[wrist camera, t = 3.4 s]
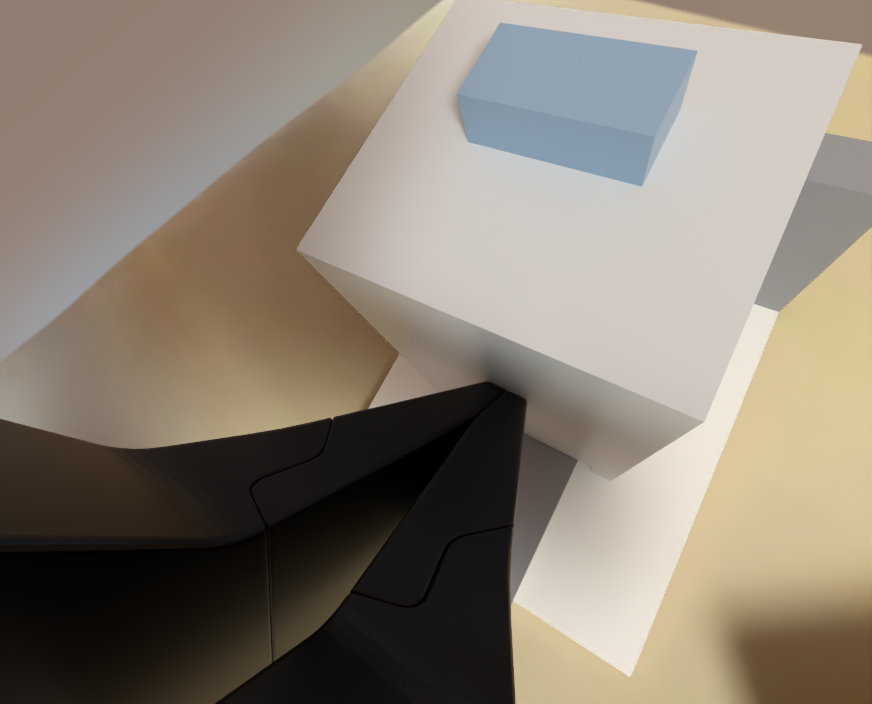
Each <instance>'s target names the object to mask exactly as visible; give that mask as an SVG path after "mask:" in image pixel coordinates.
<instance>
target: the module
mask: <svg viewBox="0 0 872 704" xmlns="http://www.w3.org/2000/svg"><path fill="white" fill-rule="evenodd" d="M861 47H862V44H855V43H847V42H838V41H830V40H822V39H813V38H806V37H798V36H789V35H781V34H773V33H765V32H757V31H749V30H741V29H732V28H724V27H716V26H708V25H700V24H692V23H683V22H675V21H667V20H659V19H651V18H643V17H635V16H626V15H618V14H610V13H602V12H594V11H586V10H577V9H569V8H561V7H553V6H545V5H537V4H529V3H520V2H512V1H504V0H456V1H455V2H454V4H453V5H452V7H451V9H450V10H449V12H448V13H447V15H446V16H445V18H444V19H443V21H442V23H441V24H440V26H439V27H438V29H437V30H436V32H435V33H434V35H433V37H432V38H431V40H430V41H429V43H428V44H427V46H426V47H425V49H424V51H423V52H422V54H421V55H420V57H419V58H418V60H417V61H416V63H415V65H414V66H413V68H412V69H411V71H410V72H409V74H408V75H407V77H406V79H405V80H404V82H403V83H402V85H401V86H400V88H399V89H398V91H397V93H396V94H395V96H394V97H393V99H392V100H391V102H390V103H389V105H388V107H387V108H386V110H385V111H384V113H383V114H382V116H381V117H380V119H379V121H378V122H377V124H376V125H375V127H374V128H373V130H372V131H371V133H370V135H369V136H368V138H367V139H366V141H365V142H364V144H363V145H362V147H361V149H360V150H359V152H358V153H357V155H356V156H355V158H354V159H353V161H352V163H351V164H350V166H349V167H348V169H347V170H346V172H345V173H344V175H343V177H342V178H341V180H340V181H339V183H338V184H337V186H336V187H335V189H334V191H333V192H332V194H331V195H330V197H329V198H328V200H327V201H326V203H325V205H324V206H323V208H322V209H321V211H320V212H319V214H318V215H317V217H316V219H315V220H314V222H313V223H312V225H311V226H310V228H309V229H308V231H307V233H306V234H305V236H304V237H303V239H302V240H301V242H300V243H299V245H298V247H297V248H296V250H297V251H298V252H299V253H300V254H301V255H302V256H303V257H304V258H305V259H306V260H307V261H308V262H309V263H310V264H311V265H312V266H313V267H314V268H315V269H316V270H317V271H318V272H319V273H320V274H321V275H322V276H323V277H324V278H325V279H326V280H327V281H328V282H329V283H330V284H331V285H332V286H333V287H334V288H335V289H336V290H337V291H338V292H339V293H340V294H341V295H342V296H343V297H344V298H345V299H346V300H347V301H348V302H349V303H350V304H351V305H352V306H353V307H354V308H355V309H356V310H357V311H358V312H359V313H360V314H361V315H362V316H363V317H364V318H365V319H366V320H367V321H368V322H369V323H370V324H371V325H372V326H373V327H374V328H375V329H376V330H377V331H378V332H379V333H380V334H381V335H382V336H383V337H384V338H385V339H386V340H387V341H388V342H389V343H390V344H391V345H392V346H393V347H394V348H395V349H396V350H397V351H398V352H399V353H400V354H401V355H402V356H403V357H404V358H405V359H406V360H407V361H408V362H409V363H410V364H411V365H412V366H413V367H414V368H415V369H416V370H417V371H418V372H419V373H420V374H421V375H422V376H423V377H424V378H425V379H426V380H427V381H428V382H429V383H430V384H431V385H432V386H433V387H434V388H435V389H436V390H437V391H438V392H442V391H447V390H451V389H455V388H459V387H464V386H468V385H472V384H476V383H481V382H485V381H489V382H491V383H493V384H496V385H498V386H500V387H502V388H504V389H505V390H506V391H510V392H512V393H514V394H516V395H519V396H521V397H523V398H525V399H526V400H527V409H526V419H525V429H524V434H526V435H528V436H530V437H533V438H535V439H537V440H539V441H541V442H543V443H545V444H547V445H549V446H551V447H553V448H555V449H557V450H559V451H561V452H563V453H565V454H567V455H569V456H571V457H573V458H575V459H577V460H579V461H581V462H583V463H585V464H587V465H589V466H591V469H590V471H591V472H593V473H595V474H597V475H599V476H601V477H603V478H605V479H607V480H609V481H612V480H613V479H615V478H617V477H618V476H620V475H621V474H623V473H624V472H626V471H628V470H629V469H631V468H632V467H634V466H636V465H637V464H639V463H640V462H642V461H643V460H645V459H647V458H648V457H650V456H651V455H653V454H655V453H656V452H658V451H659V450H661V449H662V448H664V447H666V446H667V445H669V444H670V443H672V442H673V441H675V440H677V439H678V438H680V437H681V436H683V435H685V434H686V433H688V432H689V431H691V430H692V429H694V428H696V427H697V426H699V425H700V424H702V423H703V422H705V419H706V417H707V414H708V412H709V410H710V407H711V405H712V402H713V400H714V398H715V395H716V393H717V391H718V388H719V386H720V383H721V381H722V379H723V376H724V374H725V371H726V369H727V367H728V364H729V362H730V359H731V357H732V355H733V352H734V350H735V348H736V345H737V343H738V340H739V338H740V336H741V333H742V331H743V328H744V326H745V324H746V321H747V319H748V316H749V314H750V312H751V309H752V307H753V305H754V302H755V300H756V297H757V295H758V293H759V290H760V288H761V285H762V283H763V281H764V278H765V276H766V274H767V271H768V269H769V266H770V264H771V262H772V259H773V257H774V254H775V252H776V250H777V247H778V245H779V242H780V240H781V238H782V235H783V233H784V231H785V228H786V226H787V223H788V221H789V219H790V216H791V214H792V211H793V209H794V207H795V204H796V202H797V199H798V197H799V195H800V192H801V190H802V188H803V185H804V183H805V180H806V178H807V176H808V173H809V171H810V168H811V166H812V164H813V161H814V159H815V156H816V154H817V152H818V149H819V147H820V145H821V142H822V140H823V137H824V135H825V133H826V130H827V128H828V125H829V123H830V121H831V118H832V116H833V113H834V111H835V109H836V106H837V104H838V102H839V99H840V97H841V94H842V92H843V90H844V87H845V85H846V82H847V80H848V78H849V75H850V73H851V70H852V68H853V66H854V63H855V61H856V59H857V56H858V54H859V51H860V49H861Z"/></svg>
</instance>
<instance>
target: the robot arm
mask: <svg viewBox="0 0 872 704" xmlns="http://www.w3.org/2000/svg"><path fill="white" fill-rule="evenodd" d="M526 409H527V400H526V399H525V398H523V397H521V396H519V395H516V394H514V393H512V392H510V391H506V390H505V389H504V388H502V387H500V386H498V385H496V384H493V383H491V382H489V381H485V382H481V383H476V384H472V385H468V386H464V387H459V388H455V389H451V390H447V391H442V392H438V393H434V394H430V395H425V396H421V397H417V398H413V399H408V400H404V401H400V402H396V403H391V404H387V405H383V406H379V407H374V408H370V409H366V410H362V411H358V412H353V413H349V414H345V415H341V416H336V417H334V418H333V421H332V419H331V418H327V419H323V420H319V421H314V422H310V423H305V424H301V425H296V426H291V427H286V428H282V429H276V430H270V431H264V432H258V433H253V434H247V435H240V436H233V437H227V438H220V439H213V440H207V441H200V442H193V443H187V444H180V445H173V446H167V447H158V448H148V449H127V448H116V447H109V446H103V445H99V444H94V443H91V442H87V441H83V440H79V439H75V438H71V437H68V436H64V435H60V434H56V433H52V432H48V431H45V430H41V429H37V428H33V427H29V426H25V425H22V424H18V423H14V422H10V421H6V420H2V419H0V704H515V686H514V667H513V648H512V629H511V588H510V579H511V562H512V547H513V538H514V526H515V516H516V506H517V497H518V487H519V477H520V467H521V458H522V448H523V438H524V429H525V419H526Z"/></svg>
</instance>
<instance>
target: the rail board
mask: <svg viewBox="0 0 872 704" xmlns="http://www.w3.org/2000/svg"><path fill="white" fill-rule="evenodd" d="M871 227H872V142H870V141H865V140H859V139H854V138H849V137H843V136H838V135H833V134H827V133H825V135H824V137H823V140H822V142H821V145H820V147H819V149H818V152H817V154H816V156H815V159H814V161H813V164H812V166H811V168H810V171H809V173H808V176H807V178H806V180H805V183H804V185H803V188H802V190H801V192H800V195H799V197H798V199H797V202H796V204H795V207H794V209H793V211H792V214H791V216H790V219H789V221H788V223H787V226H786V228H785V231H784V233H783V235H782V238H781V240H780V242H779V245H778V247H777V250H776V252H775V254H774V257H773V259H772V262H771V264H770V266H769V269H768V271H767V274H766V276H765V278H764V281H763V283H762V285H761V288H760V290H759V293H758V295H757V297H756V300H755V302H754V305H753V307H752V309H751V312H750V314H749V316H748V319H747V321H746V324H745V326H744V328H743V331H742V333H741V336H740V338H739V340H738V343H737V345H736V348H735V350H734V352H733V355H732V357H731V359H730V362H729V364H728V367H727V369H726V371H725V374H724V376H723V379H722V381H721V383H720V386H719V388H718V391H717V393H716V395H715V398H714V400H713V402H712V405H711V407H710V410H709V412H708V414H707V417H706V419H705V422H703V423H702V424H700V425H699V426H697V427H696V428H694V429H692V430H691V431H689V432H688V433H686V434H685V435H683V436H681V437H680V438H678V439H677V440H675V441H673V442H672V443H670V444H669V445H667V446H666V447H664V448H662V449H661V450H659V451H658V452H656V453H655V454H653V455H651V456H650V457H648V458H647V459H645V460H643V461H642V462H640V463H639V464H637V465H636V466H634V467H632V468H631V469H629V470H628V471H626V472H624V473H623V474H621V475H620V476H618V477H617V478H615V479H613V480H612V481H609V480H607V479H605V478H603V477H601V476H599V475H597V474H595V473H593V472H591V471H590V469H591V466H589V465H587V464H585V463H583V462H581V461H579V460H577V459H575V458H573V457H571V456H569V455H567V454H565V453H563V452H561V451H559V450H557V449H555V448H553V447H551V446H549V445H547V444H545V443H543V442H541V441H539V440H537V439H535V438H533V437H530V436H528V435H526V434H524V438H523V448H522V458H521V467H520V477H519V487H518V497H517V506H516V516H515V526H514V538H513V547H512V562H511V579H510V588H511V603H512V602H513V601H514V602H515V603H517V604H518V605H520V606H521V607H523V608H525V609H526V610H528V611H529V612H531V613H532V614H534V615H535V616H537V617H538V618H540V619H541V620H543V621H545V622H546V623H548V624H549V625H551V626H552V627H554V628H555V629H557V630H558V631H560V632H561V633H563V634H564V635H566V636H568V637H569V638H571V639H572V640H574V641H575V642H577V643H578V644H580V645H581V646H583V647H584V648H586V649H588V650H589V651H591V652H592V653H594V654H595V655H597V656H598V657H600V658H601V659H603V660H604V661H606V662H608V663H609V664H611V665H612V666H614V667H615V668H617V669H618V670H620V671H621V672H623V673H624V674H626V675H627V676H629V677H631V675H632V673H633V670H634V668H635V665H636V663H637V660H638V658H639V655H640V653H641V650H642V648H643V646H644V643H645V641H646V638H647V636H648V633H649V631H650V628H651V626H652V623H653V621H654V618H655V616H656V614H657V611H658V609H659V606H660V604H661V601H662V599H663V596H664V594H665V591H666V589H667V586H668V584H669V582H670V579H671V577H672V574H673V572H674V569H675V567H676V564H677V562H678V559H679V557H680V554H681V552H682V549H683V547H684V545H685V542H686V540H687V537H688V535H689V532H690V530H691V527H692V525H693V522H694V520H695V517H696V515H697V513H698V510H699V508H700V505H701V503H702V500H703V498H704V495H705V493H706V490H707V488H708V485H709V483H710V480H711V478H712V476H713V473H714V471H715V468H716V466H717V463H718V461H719V458H720V456H721V453H722V451H723V448H724V446H725V444H726V441H727V439H728V436H729V434H730V431H731V429H732V426H733V424H734V421H735V419H736V416H737V414H738V411H739V409H740V407H741V404H742V402H743V399H744V397H745V394H746V392H747V389H748V387H749V384H750V382H751V379H752V377H753V375H754V372H755V370H756V367H757V365H758V362H759V360H760V357H761V355H762V352H763V350H764V347H765V345H766V342H767V340H768V338H769V335H770V333H771V330H772V328H773V325H774V323H775V320H776V318H777V315H778V313H779V311H780V310H782V309H783V308H784V307H785V306H786V305H787V304H788V303H789V302H790V301H791V300H792V299H794V298H795V297H796V296H797V295H798V294H799V293H800V292H801V291H802V290H803V289H804V288H805V287H807V286H808V285H809V284H810V283H811V282H812V281H813V280H814V279H815V278H816V277H817V276H819V275H820V274H821V273H822V272H823V271H824V270H825V269H826V268H827V267H828V266H829V265H831V264H832V263H833V262H834V261H835V260H836V259H837V258H838V257H839V256H840V255H841V254H842V253H844V252H845V251H846V250H847V249H848V248H849V247H850V246H851V245H852V244H853V243H854V242H856V241H857V240H858V239H859V238H860V237H861V236H862V235H863V234H864V233H865V232H866V231H867V230H869V229H870V228H871ZM434 393H438V391H437V390H436V389H435V388H434V387H433V386H432V385H431V384H430V383H429V382H428V381H427V380H426V379H425V378H424V377H423V376H422V375H421V374H420V373H419V372H418V371H417V370H416V369H415V368H414V367H413V366H412V365H411V364H410V363H409V362H408V361H407V360H406V359H405V358H404V357H403V356H402V355H401V354H400V353H399V355H398V357H397V359H396V361H395V362H394V364H393V366H392V368H391V369H390V371H389V373H388V375H387V376H386V378H385V380H384V382H383V383H382V385H381V387H380V389H379V391H378V392H377V394H376V396H375V398H374V399H373V401H372V403H371V405H370V406H369V408H368V409H370V408H374V407H379V406H383V405H387V404H391V403H396V402H400V401H404V400H408V399H413V398H417V397H421V396H425V395H430V394H434Z"/></svg>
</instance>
